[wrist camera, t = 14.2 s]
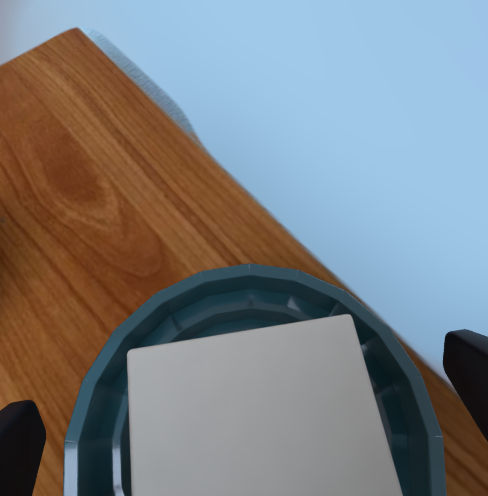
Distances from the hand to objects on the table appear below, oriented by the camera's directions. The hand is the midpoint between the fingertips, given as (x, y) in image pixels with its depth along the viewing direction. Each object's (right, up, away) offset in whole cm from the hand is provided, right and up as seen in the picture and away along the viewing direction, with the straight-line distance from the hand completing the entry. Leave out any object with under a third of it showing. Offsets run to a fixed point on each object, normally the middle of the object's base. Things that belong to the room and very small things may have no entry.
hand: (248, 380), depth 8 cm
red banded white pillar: (0, -6, +10) cm, 12 cm away
